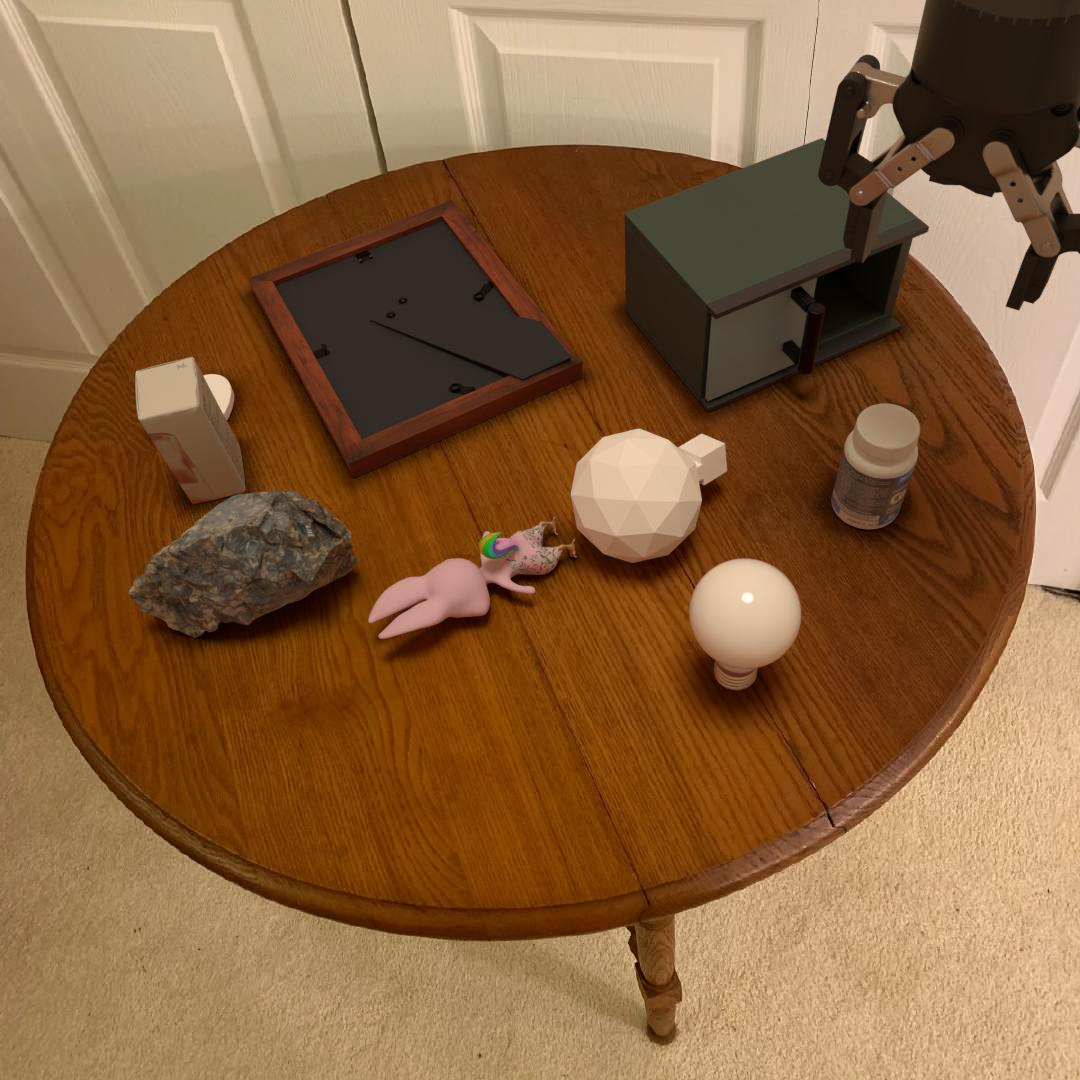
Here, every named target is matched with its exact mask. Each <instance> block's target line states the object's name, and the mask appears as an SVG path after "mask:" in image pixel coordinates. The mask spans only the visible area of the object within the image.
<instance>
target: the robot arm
mask: <svg viewBox="0 0 1080 1080" xmlns="http://www.w3.org/2000/svg"><path fill="white" fill-rule="evenodd" d="M911 61H912V62H911V66H910V70H909V73H908V74H907V76H902V75H899V74H895V73H892V72H888V71H885V70H882V69H881V63H880V61H879V58H877V57H876V56H875V55H872V54H863V55H861V56H860V57H859V58H858V59H857V60H856V62H855V63H854V64H853V66H852V67H851V68H850V70H849V71H848V72H847V74H846V75H845V76H844V77H843V79H842V80H841V81H840V82H839V84H838V85H837V89H836V92H835V97H834V102H833V106H832V110H831V114H830V115H831V116H830V119H829V124H828V128H827V132H826V137H825V145H824V150H823V154H822V159H821V163H820V168H819V172H818V177H819V179H820V181H821V182H822V183H823V184H824V185H827V186H835V185H838V186H839V187H841V188H843V189H844V190H845V191H846V192H847V193H848V195H849V198H850V204H849V209H848V215H847V220H846V225H845V231H844V236H843V242H844V246H845V248H849V249H852V250H851V255H850V259H851V260H854V261H858V262H861V263H863V262H864V261H865V259H866V258H867V256H868V255H869V253H870V252H871V250H872V249H873V247H874V245H875V242H876V240H877V236H878V232H879V227H880V223H881V218H882V214H883V209H884V205H885V200H886V196H887V192H888V191H889V189H895V188H896V187H897V186H899V185H900V184H902V183H903V182H904V181H906V180H907V179H908V178H910V177H912V176H913V175H914V174H916V173H918V172H919V171H920V170H921V171H922V172H923V173H924V174H926V175H927V176H929V178H928V182H930V183H935V184H938V185H943V186H961V187H963V188H965V189H967V190H969V191H971V192H972V193H975V194H977V195H981V196H985V197H988V198H993V196H994V194H1001V193H1002V196H1003V198H1004V200H1005V203H1006V205H1007V206H1008V209H1009V210H1010V213H1011V215H1012V217H1013V219H1014V221H1015V222H1016V223H1018V224H1019V223H1020V224H1022V226H1023V228H1024V231H1025V233H1026V235H1027V237H1028V239H1029V242H1030V244H1029V246H1028V248H1027V249H1026V251H1025V253H1024V256H1023V259H1022V261H1021V264H1020V266H1019V269H1018V272H1017V275H1016V277H1015V279H1014V282H1013V285H1012V288H1011V290H1010V293H1009V296H1008V298H1007V301H1006V304H1005V308H1008V309H1013V310H1015V311H1020V310H1021V308H1022V306H1023V304H1024V302H1025V303H1029V304H1032V305H1033V304H1035V303H1036V302H1037V301H1038V300H1039V299H1041V296H1042V295H1043V293H1044V290H1045V288H1046V287H1047V285H1048V283H1049V281H1050V278H1051V276H1052V273H1053V271H1054V269H1055V266H1056V263H1057V261H1058V258H1059V257H1060V256H1061V255H1063V254H1065V253H1075V252H1076V253H1078V254H1079V255H1080V213H1074V212H1073V209H1072V206H1071V205H1070V202H1069V200H1068V198H1067V195H1066V193H1065V190H1064V188H1063V173H1062V170H1061V168H1060V166H1059V164H1058V161H1059V160H1060V159H1061V158H1063V157H1064V156H1066V155H1068V154H1069V153H1070V152H1071V151H1072V150H1073V149H1074V148H1077V149H1079V150H1080V0H925V2H924V7H923V11H922V15H921V20H920V25H919V30H918V34H917V38H916V44H915V47H914V52H913V56H912V60H911ZM887 104H890V105H892V111H893V114H894V117H895V118H896V121H897V123H898V125H899V127H900V129H901V131H902V135H901V136H900V137H898V139H897V140H896V141H895V142H894V143H893V144H891V146H889V147H888V148H887V149H885V150H884V151H882V153H879V155H877V156H876V157H875V158H874V159H872V160H871V161H870V160H869V159H868V158H867V157H865V156H863V155H862V154H861V153H859V152H860V149H861V144H862V142H863V141H862V140H863V137H864V132H865V129H866V126H867V121H868V120H869V119H872V118H874V117H875V116H876V115H877V114H878V112H879V111H880V109H881V108H882V107H883V106H884V105H887Z"/></svg>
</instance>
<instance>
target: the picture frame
mask: <svg viewBox="0 0 1080 1080" xmlns="http://www.w3.org/2000/svg"><path fill="white" fill-rule="evenodd" d="M247 280H248V282H249V285H250V288H251V289H252V290H251V291H252V293H253V294H254V297H255V298H256V300H257V302H258V303H259V306H260V307H261V310H262V311H263V313H264V315H265V317H266V318H267V320H268V322H269V324H270V326H271V328H272V329H273V331H274V333H275V335H276V337H277V339H278V340H279V343H280V344H281V346H282V348H283V350H284V352H285V354H286V355H287V357H288V359H289V361H290V363H291V365H292V367H293V369H294V370H295V372H296V374H297V376H298V378H299V379H300V381H301V383H302V385H303V387H304V389H305V390H306V393H307V394H308V396H309V398H310V400H311V402H312V403H313V405H314V407H315V409H316V411H317V413H318V415H319V416H320V418H321V420H322V422H323V424H324V426H325V427H326V429H327V431H328V433H329V435H330V436H331V438H332V441H333V442H334V443H335V446H336V449H338V451H339V454H340V455H341V457H342V459H343V460H344V461H343V462H344V463H345V464H346V466H347V468H348V470H349V472H350V474H351V475H352V477H353V479H356V478H358V477H361V476H362V475H365V474H367V473H369V472H372V471H375V470H376V469H379V468H381V467H383V466H385V465H387V464H390V463H392V462H395V461H396V460H399V459H401V458H404V457H406V456H409V455H410V454H413V453H415V452H417V451H419V450H421V449H424V448H426V447H428V446H431V445H433V444H435V443H438V442H440V441H442V440H445V439H447V438H449V437H451V436H454V435H456V434H458V433H460V432H462V431H465V430H468V429H470V428H472V427H474V426H477V425H479V424H481V423H483V422H485V421H488V420H490V419H492V418H495V417H497V416H499V415H501V414H504V413H505V412H508V411H511V410H513V409H515V408H517V407H519V406H522V405H524V404H526V403H528V402H531V401H534V400H535V399H537V398H540V397H542V396H544V395H547V394H549V393H551V392H554V391H556V390H558V389H561V388H563V387H565V386H567V385H569V384H572V383H575V382H577V381H579V380H582V379H583V378H584V373H583V372H584V370H583V369H584V368H583V361H582V360H581V359H580V357H579V356H578V355H577V354H576V352H575V351H574V350H573V349H572V348H571V346H570V345H569V344H568V342H567V341H566V339H564V337H563V336H562V335H561V334H560V333H559V331H558V330H557V329H556V327H554V325H553V324H552V323H551V321H550V320H549V319H548V318H547V317H546V315H545V314H544V313H543V311H542V310H541V309H540V308H539V307H538V305H537V304H536V303H535V301H534V300H533V298H531V297H530V296H529V294H528V293H527V291H525V289H524V288H523V287H522V285H521V284H520V282H518V281H517V279H516V278H515V276H514V275H513V274H512V273H511V272H510V270H509V269H508V268H507V267H506V266H505V264H504V263H503V262H502V260H500V258H499V257H498V255H497V254H496V253H495V252H494V250H493V249H492V248H491V247H490V246H489V244H488V243H487V242H486V241H485V239H484V238H483V237H482V236H481V234H480V233H479V232H478V231H477V229H476V228H475V227H474V226H473V224H472V223H471V222H470V221H469V219H468V218H467V217H466V216H465V215H464V213H463V212H462V211H461V210H460V208H459V207H458V206H457V205H456V203H455V202H454V201H453V200H452V199H449V200H447V201H444V202H441V203H439V204H436V205H433V206H431V207H428V208H426V209H423V210H421V211H418V212H416V213H413V214H410V215H407V216H405V217H402V218H399V219H397V220H395V221H392V222H389V223H387V224H384V225H380V226H379V227H376V228H373V229H371V230H369V231H368V230H367V231H366V232H364V233H361V234H358V235H356V236H353V237H350V238H348V239H345V240H343V241H342V240H341V241H340V242H337V243H335V244H332V245H329V246H326V247H324V248H321V249H319V250H317V251H314V252H311V253H309V254H306V255H304V256H301V257H298V258H296V259H292V260H291V261H288V262H285V263H283V264H280V265H278V266H275V267H272V268H269V269H267V270H264V271H262V272H259V273H257V274H254V275H252V276H251V275H250V276H249V277H247Z"/></svg>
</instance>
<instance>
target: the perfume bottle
mask: <svg viewBox="0 0 1080 1080" xmlns="http://www.w3.org/2000/svg"><path fill="white" fill-rule="evenodd" d="M726 450H727V449H726V443H725V442H723V441H720V440H718V439H715V438H713V437H711V436H709V435H706V434H704V433H700V434H697V436H695V437H693V438H691V439H690V440H688V441H686V442H685V443H683V444H681V445H679V446H677V445H675V444H674V443H673V442H672V441H671V440H669V438H668V439H667V438H665V437H662V436H660V435H657V434H655V433H653V432H650V431H647V430H645V429H642V428H635V429H632V430H626V431H622V432H619V433H613V434H610V435H606V436H603V437H601V438H600V439H599V440H598V441H597V442H596V443H595V444H594V445H593V446H592V448H590V449H589V450H588V452H586V454H584V455H583V456H582V458H580V459H579V461H577V463H576V465H575V471H574V474H573V475H574V476H573V481H572V485H571V491H570V497H571V499H570V500H571V505H572V510H573V514H574V515H573V516H574V520H575V526H576V529H577V530H578V531H579V533H581V534H582V535H583V536H584V537H585V538H586V539H587V540H588V541H589V542H590V543H591V544H592V545H594V546H595V547H596V549H598V550H599V551H600V552H601V553H602V554H603V555H606V556H609V557H611V558H615V559H618V560H621V561H625V562H628V563H630V564H634V563H638V562H643V561H647V560H652V559H657V558H661V557H665V556H669V555H670V554H671V553H673V551H674V550H675V549H676V548H677V547H678V546H679V545H680V544H682V542H683V541H685V539H686V538H688V537H689V535H690V534H692V533H693V532H694V531H695V530H696V527H697V522H698V518H699V514H700V510H701V506H702V502H703V497H702V492H701V486H700V484H701V485H702V486H706V485H707V484H709V483H711V482H712V481H714V480H715V479H718V477H720V476H721V475H723V474H725V473H727V472H728V463H727V451H726Z"/></svg>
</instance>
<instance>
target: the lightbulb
mask: <svg viewBox="0 0 1080 1080" xmlns="http://www.w3.org/2000/svg"><path fill="white" fill-rule="evenodd" d="M688 619H689V625H690V628H691V632H692V635H693V637H694V638H695V641H696V642H697V644H698V646H699V647H700V648H701V650H703V651H704V653H705V654H706V655H708V656H709V657H710V658H711V659H713V660H714V664H713V674H714V678H715V680H716V681H717V683H718V684H719V685H720V686H721V687H723V688H725V689H727V690H730V691H734V692H735V691H737V692H738V691H739V692H740V691H744V690H746V689H748V688H750V687H751V686H752V685H753V684H754V683H755V681H756V679H757V675H758V670H759V668H762V667H765V666H768V665H771V664H773V663H774V662H776V661H777V660H779V659H780V658H781V657H783V656H784V655H785V654H786V653H787V652H788V651H789V649H791V647H792V646H793V645H794V643H795V641H796V639H797V637H798V635H799V632H800V629H801V625H802V604H801V599H800V597H799V594H798V591H797V590H796V588H795V586H794V584H793V583H792V581H791V580H790V579H789V578H788V577H787V576H786V575H785V573H783V572H782V571H781V570H780V569H779V568H777V567H776V566H774V565H772V564H770V563H769V562H765V561H763V560H759V559H756V558H755V559H754V558H749V557H748V558H744V557H743V558H742V557H741V558H734V559H729V560H726V561H723V562H721V563H719V564H717V565H715V566H714V567H711V568H710V569H709V570H708V571H707V572H706V573H705V574H704V575H702V577H701V578H700V580H699V581H698V582H697V584H696V585H695V587H694V589H693V591H692V593H691V597H690V600H689V606H688Z"/></svg>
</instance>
